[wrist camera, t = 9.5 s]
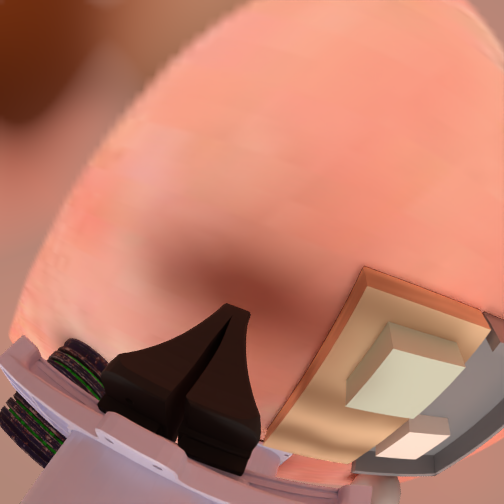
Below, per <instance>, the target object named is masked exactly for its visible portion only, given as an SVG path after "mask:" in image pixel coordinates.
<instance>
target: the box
mask: <svg viewBox="0 0 504 504" xmlns="http://www.w3.org/2000/svg"><path fill="white" fill-rule="evenodd" d="M483 316H484V318H485V319H486V321H487V323H488V325H489V327H490V329H491V331H490V332H489V334H488V335H487V337H486V338H485V339H484V341H483V342H482V343H481V344H480V346H479V347H478V348H477V350H476V351H475V352H474V353H473V354H472V356H471V357H470V358H469V359H468V360H467V362H466V363H465V369H464V370H463V371H462V372H461V373H460V374H459V375H458V376H457V377H456V379H455V380H454V381H453V382H452V383H451V384H450V385H449V386H448V387H447V388H446V389H445V390H444V391H443V392H442V393H441V394H440V395H439V396H438V397H437V398H436V399H435V400H434V401H433V402H432V403H431V404H430V405H429V406H427V407H426V408H425V409H424V410H423V411H422V412H421V413H420V415H427V416H435V417H443V418H448V424H449V430H450V436H449V437H448V438H446V439H445V440H444V441H442V442H441V443H439V444H438V445H437V446H435V447H434V448H432V449H431V450H429V451H428V452H426V453H425V454H423V455H422V456H420V457H419V458H417V459H400V458H388V457H378V456H375V453H376V446H375V447H373V448H372V449H370V450H369V451H368V452H366V453H365V454H363V455H362V456H360V457H359V458H357V459H356V460H354V461H353V462H352V469H351V473H357V474H367V475H380V476H435V475H437V474H439V473H441V472H442V471H444V470H446V469H447V468H449V467H451V466H452V465H454V464H455V463H457V462H459V461H460V460H462V459H463V458H465V457H466V456H468V455H469V454H470V453H472V452H473V451H475V450H476V449H478V448H479V447H480V446H482V445H483V444H484V443H486V442H487V441H488V440H489V439H491V438H492V437H493V436H495V435H496V434H497V433H498V432H499V431H501V430H502V429H503V428H504V320H503V319H500V318H498V317H495V316H493V315H490V314H488V313H485V312H483Z"/></svg>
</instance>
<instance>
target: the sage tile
mask: <svg viewBox="0 0 504 504" xmlns="http://www.w3.org/2000/svg"><path fill="white" fill-rule="evenodd" d="M464 369H465V364H464V361H463V358H462V356H461V353H460V350H459V348H458V345H457V343H456V342H453V341H449V340H446V339H443V338H440V337H436V336H433V335H430V334H426V333H423V332H420V331H417V330H414V329H410V328H407V327H404V326H401V325H398V324H395V323H391V322H388V323H387V324H386V326H385V328H384V329H383V331H382V332H381V334H380V335H379V337H378V338H377V340H376V341H375V342H374V344H373V345H372V347H371V348H370V350H369V351H368V352H367V354H366V355H365V357H364V358H363V359H362V361H361V362H360V363H359V365H358V366H357V367H356V369H355V370H354V371H353V373H352V374H351V375H350V377H349V378H348V379H347V380H346V399H345V407H350V408H354V409H359V410H364V411H369V412H374V413H379V414H385V415H390V416H397V417H403V418H410V419H414V418H415V417H416V416H417V415H419V414H420V413H421V412H422V411H423V410H424V409H425V408H426V407H427V406H429V405H430V404H431V403H432V402H433V401H434V400H435V399H436V398H437V397H438V396H439V395H440V394H441V393H442V392H443V391H444V390H445V389H446V388H447V387H448V386H449V385H450V384H451V383H452V382H453V381H454V380H455V379H456V377H457V376H458V375H459V374H460V373H461V372H462V371H463V370H464Z"/></svg>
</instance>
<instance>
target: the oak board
mask: <svg viewBox="0 0 504 504" xmlns="http://www.w3.org/2000/svg"><path fill="white" fill-rule="evenodd" d="M388 322H391V323H395V324H398V325H401V326H404V327H407V328H410V329H414V330H417V331H420V332H423V333H426V334H430V335H433V336H436V337H440V338H443V339H446V340H449V341H453V342H456V343H457V345H458V348H459V350H460V353H461V356H462V358H463V361H464V364H465V363H466V362H467V360H468V359H469V358H470V357H471V356H472V354H473V353H474V352H475V351H476V350H477V348H478V347H479V346H480V344H481V343H482V342H483V341H484V339H485V338H486V337H487V335H488V334H489V332H490V331H491V329H490V327H489V325H488V323H487V321H486V319H485V318H484V316H483V314H482V313H481V311H480V310H478V309H476V308H473V307H471V306H468V305H466V304H463V303H460V302H458V301H455V300H453V299H450V298H448V297H445V296H443V295H440V294H437V293H435V292H432V291H430V290H427V289H424V288H422V287H419V286H416V285H414V284H411V283H408V282H406V281H403V280H400V279H398V278H395V277H392V276H390V275H387V274H384V273H382V272H379V271H376V270H373V269H371V268H368V267H365V266H364V267H363V269H362V271H361V273H360V275H359V277H358V279H357V281H356V283H355V285H354V287H353V289H352V291H351V293H350V295H349V297H348V299H347V301H346V303H345V305H344V307H343V309H342V311H341V312H340V314H339V316H338V318H337V320H336V322H335V323H334V325H333V327H332V329H331V331H330V332H329V334H328V336H327V338H326V339H325V341H324V343H323V345H322V346H321V348H320V350H319V352H318V353H317V355H316V357H315V358H314V360H313V361H312V363H311V365H310V366H309V368H308V370H307V371H306V373H305V374H304V376H303V378H302V379H301V381H300V382H299V384H298V385H297V387H296V388H295V390H294V391H293V393H292V395H291V396H290V398H289V399H288V400H287V402H286V403H285V405H284V406H283V408H282V409H281V411H280V412H279V414H278V415H277V416H276V418H275V419H274V421H273V422H272V423H271V425H270V426H269V428H268V429H267V432H266V435H265V439H264V442H263V446H266V447H269V448H273V449H277V450H280V451H284V452H288V453H292V454H297V455H301V456H305V457H310V458H315V459H320V460H326V461H331V462H337V463H344V464H350V463H351V462H353V461H354V460H356V459H357V458H359V457H360V456H362V455H363V454H365V453H366V452H368V451H369V450H370V449H372V448H373V447H375V446H376V445H377V444H379V443H380V442H381V441H383V440H384V439H385V438H387V437H388V436H389V435H391V434H392V433H393V432H394V431H396V430H397V429H398V428H399V427H401V426H402V425H403V424H404V423H405V422H407V421H408V420H409V419H410V418H403V417H397V416H390V415H385V414H379V413H374V412H369V411H364V410H359V409H354V408H350V407H345V399H346V380H347V379H348V378H349V377H350V375H351V374H352V373H353V371H354V370H355V369H356V367H357V366H358V365H359V363H360V362H361V361H362V359H363V358H364V357H365V355H366V354H367V352H368V351H369V350H370V348H371V347H372V345H373V344H374V342H375V341H376V340H377V338H378V337H379V335H380V334H381V332H382V331H383V329H384V328H385V326H386V324H387V323H388Z"/></svg>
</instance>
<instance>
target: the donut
mask: <svg viewBox="0 0 504 504" xmlns="http://www.w3.org/2000/svg"><path fill="white" fill-rule="evenodd" d="M350 485H365V486H372V497H371V504H399V502H400V495H401V490H400V483H399V480H398V478H397V476H380V475H367V474H359V475H358V476H356V478H355V479H354V480H353V481H352V483H351V484H350Z"/></svg>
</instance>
